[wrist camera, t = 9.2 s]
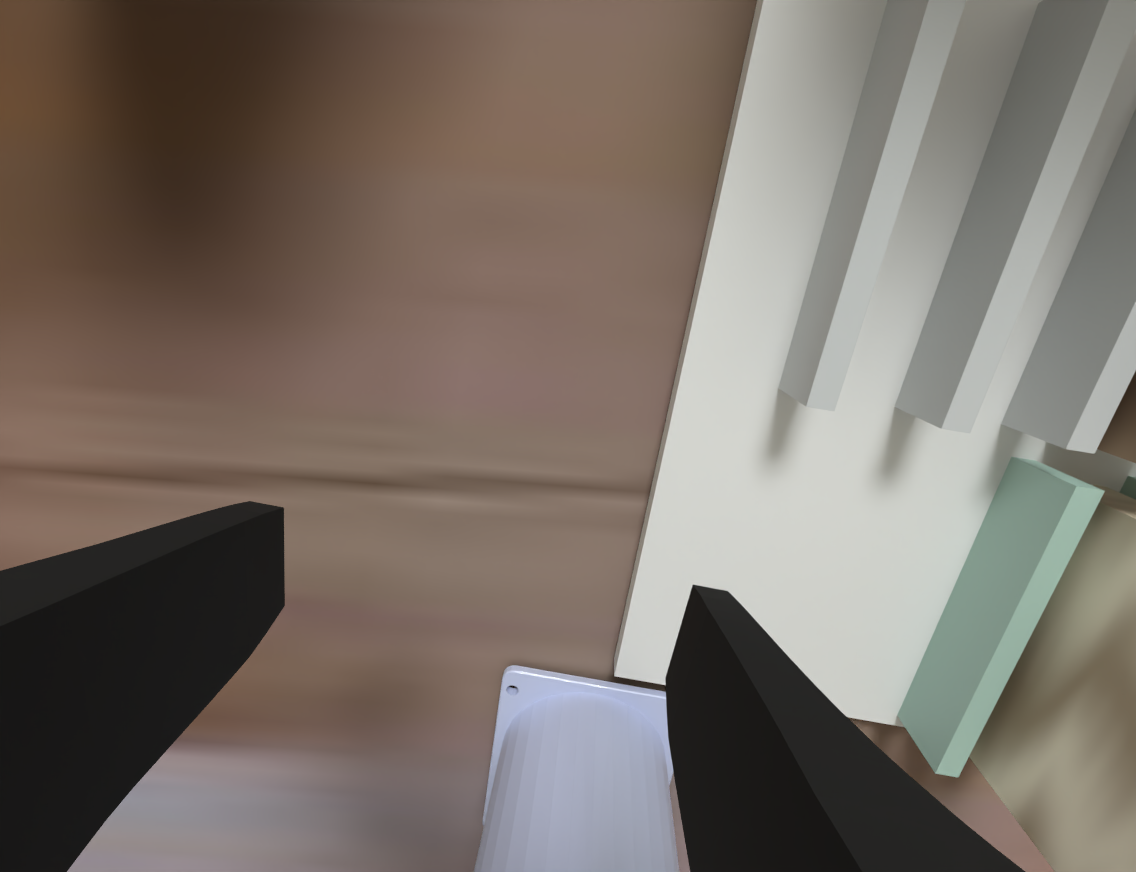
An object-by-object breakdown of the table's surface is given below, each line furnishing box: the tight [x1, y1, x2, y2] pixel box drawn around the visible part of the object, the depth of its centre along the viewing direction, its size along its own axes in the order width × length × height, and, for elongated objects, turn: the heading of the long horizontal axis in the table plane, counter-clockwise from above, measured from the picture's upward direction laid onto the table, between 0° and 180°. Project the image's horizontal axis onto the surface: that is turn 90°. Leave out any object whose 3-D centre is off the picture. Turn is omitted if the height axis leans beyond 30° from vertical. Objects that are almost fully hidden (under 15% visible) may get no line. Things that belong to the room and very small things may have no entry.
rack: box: [614, 0, 1136, 777], centre depth 16 cm, size 24×17×4 cm
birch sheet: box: [969, 484, 1136, 872], centre depth 15 cm, size 10×2×8 cm, turn 171°
